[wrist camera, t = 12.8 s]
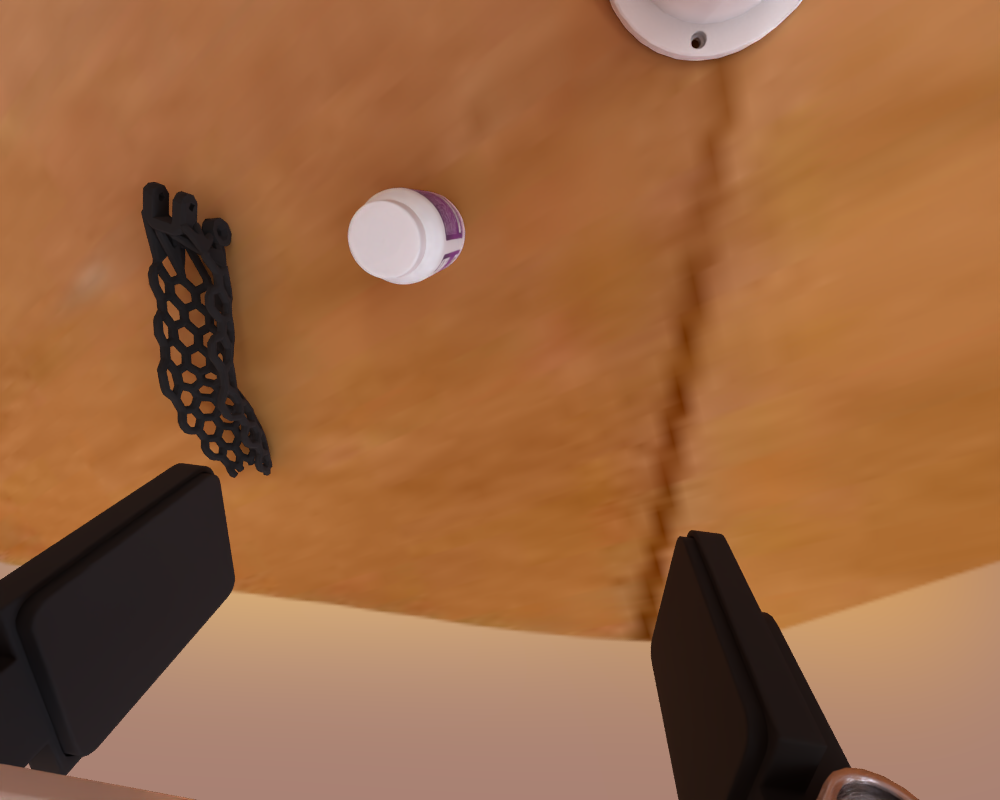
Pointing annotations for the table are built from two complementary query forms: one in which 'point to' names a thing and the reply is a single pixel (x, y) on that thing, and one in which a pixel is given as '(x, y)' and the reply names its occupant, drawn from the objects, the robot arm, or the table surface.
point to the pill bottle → (406, 235)
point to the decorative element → (208, 242)
